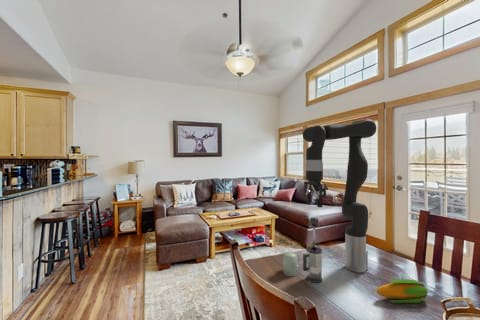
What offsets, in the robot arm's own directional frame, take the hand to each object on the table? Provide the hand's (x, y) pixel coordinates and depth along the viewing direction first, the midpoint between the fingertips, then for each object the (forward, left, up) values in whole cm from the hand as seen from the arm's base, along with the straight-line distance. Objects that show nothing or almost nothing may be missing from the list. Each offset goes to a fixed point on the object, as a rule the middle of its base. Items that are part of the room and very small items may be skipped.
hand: (314, 205), depth 101 cm
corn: (-25, +22, -34) cm, 47 cm away
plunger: (0, 0, -20) cm, 20 cm away
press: (0, 0, -34) cm, 34 cm away
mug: (+8, -8, -34) cm, 36 cm away
